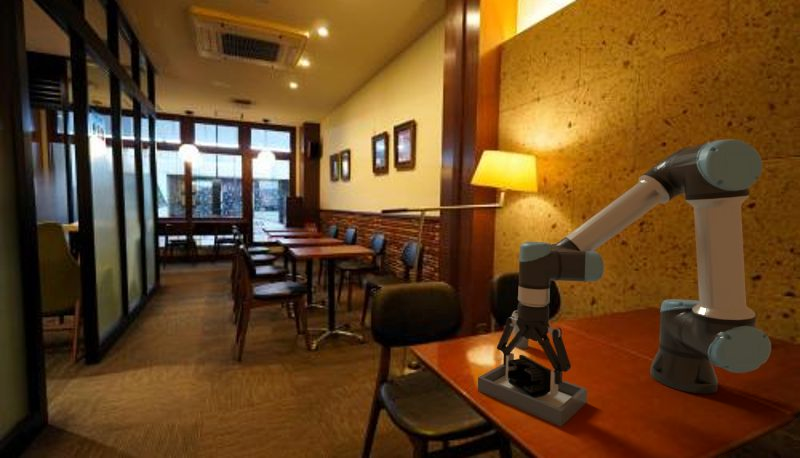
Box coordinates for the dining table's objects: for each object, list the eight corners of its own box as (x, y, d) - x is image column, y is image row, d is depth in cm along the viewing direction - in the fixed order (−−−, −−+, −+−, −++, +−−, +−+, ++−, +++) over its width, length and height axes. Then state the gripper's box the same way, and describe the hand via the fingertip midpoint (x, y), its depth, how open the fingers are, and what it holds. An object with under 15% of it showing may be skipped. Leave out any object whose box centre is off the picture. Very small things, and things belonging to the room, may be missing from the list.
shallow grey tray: (586, 402, 93) (587, 388, 93) (560, 426, 82) (561, 411, 82) (507, 373, 109) (507, 361, 108) (477, 390, 98) (478, 377, 98)
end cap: (555, 394, 92) (556, 367, 92) (533, 399, 90) (534, 372, 89) (527, 377, 101) (528, 352, 101) (506, 381, 99) (507, 356, 98)
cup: (528, 351, 125) (529, 316, 124) (508, 347, 129) (509, 313, 128) (533, 345, 131) (534, 311, 130) (514, 341, 135) (515, 308, 134)
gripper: (588, 310, 88) (584, 399, 89) (500, 292, 105) (498, 367, 107) (575, 316, 83) (572, 410, 84) (485, 296, 100) (483, 375, 101)
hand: (530, 386), depth 95 cm, fingers closed on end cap, 11 cm apart
